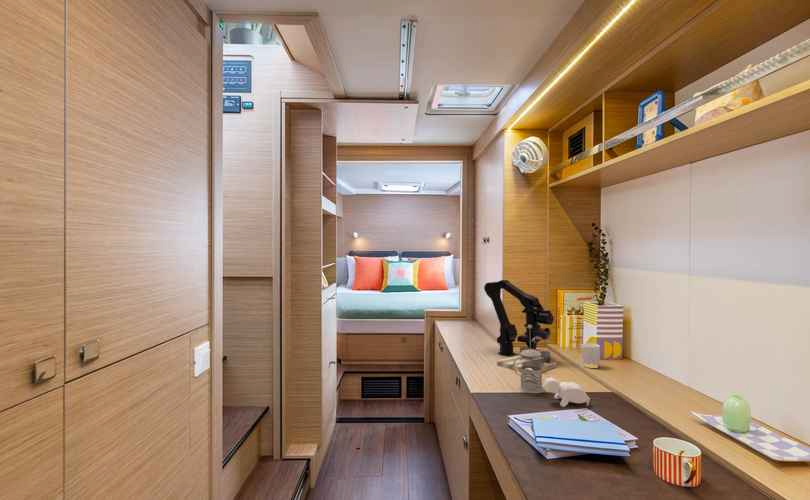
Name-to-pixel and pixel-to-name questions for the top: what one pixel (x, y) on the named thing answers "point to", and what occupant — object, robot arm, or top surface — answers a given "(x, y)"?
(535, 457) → the top surface
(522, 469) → the top surface
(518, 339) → the robot arm
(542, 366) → the stool seat
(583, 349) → the white cup
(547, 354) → the walnut leg
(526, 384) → the french press
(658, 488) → the top surface
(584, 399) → the white animal figurine
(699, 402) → the top surface
